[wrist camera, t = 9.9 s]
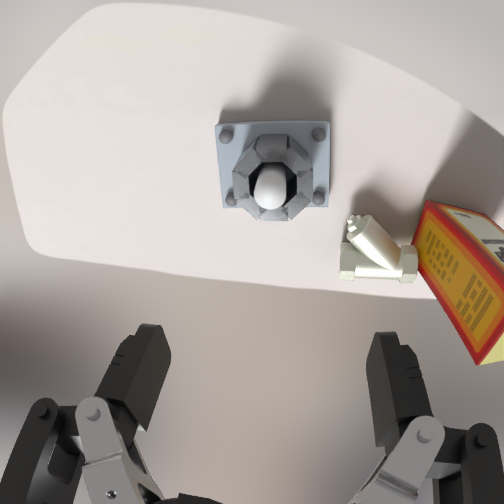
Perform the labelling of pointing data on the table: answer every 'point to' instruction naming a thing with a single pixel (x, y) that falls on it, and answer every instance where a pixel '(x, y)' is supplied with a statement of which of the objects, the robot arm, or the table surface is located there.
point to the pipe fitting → (375, 253)
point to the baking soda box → (465, 274)
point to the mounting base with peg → (274, 173)
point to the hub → (296, 187)
